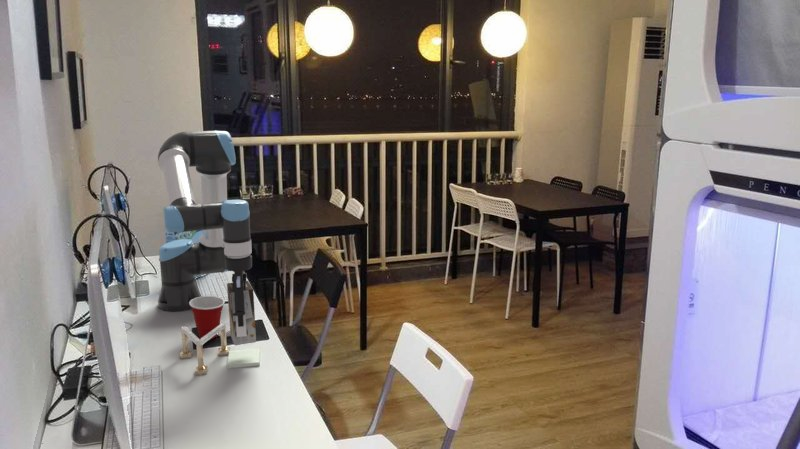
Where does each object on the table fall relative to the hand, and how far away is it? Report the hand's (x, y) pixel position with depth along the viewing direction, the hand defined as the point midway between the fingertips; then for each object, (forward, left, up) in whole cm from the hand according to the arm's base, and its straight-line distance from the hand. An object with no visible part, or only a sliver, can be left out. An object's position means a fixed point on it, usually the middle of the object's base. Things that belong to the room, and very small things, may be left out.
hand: (242, 329), depth 184 cm
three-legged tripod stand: (-1, -12, -9) cm, 15 cm away
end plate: (0, 0, -9) cm, 9 cm away
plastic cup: (-20, -12, -10) cm, 25 cm away
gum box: (-83, -25, -10) cm, 87 cm away
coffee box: (0, 0, -3) cm, 3 cm away
